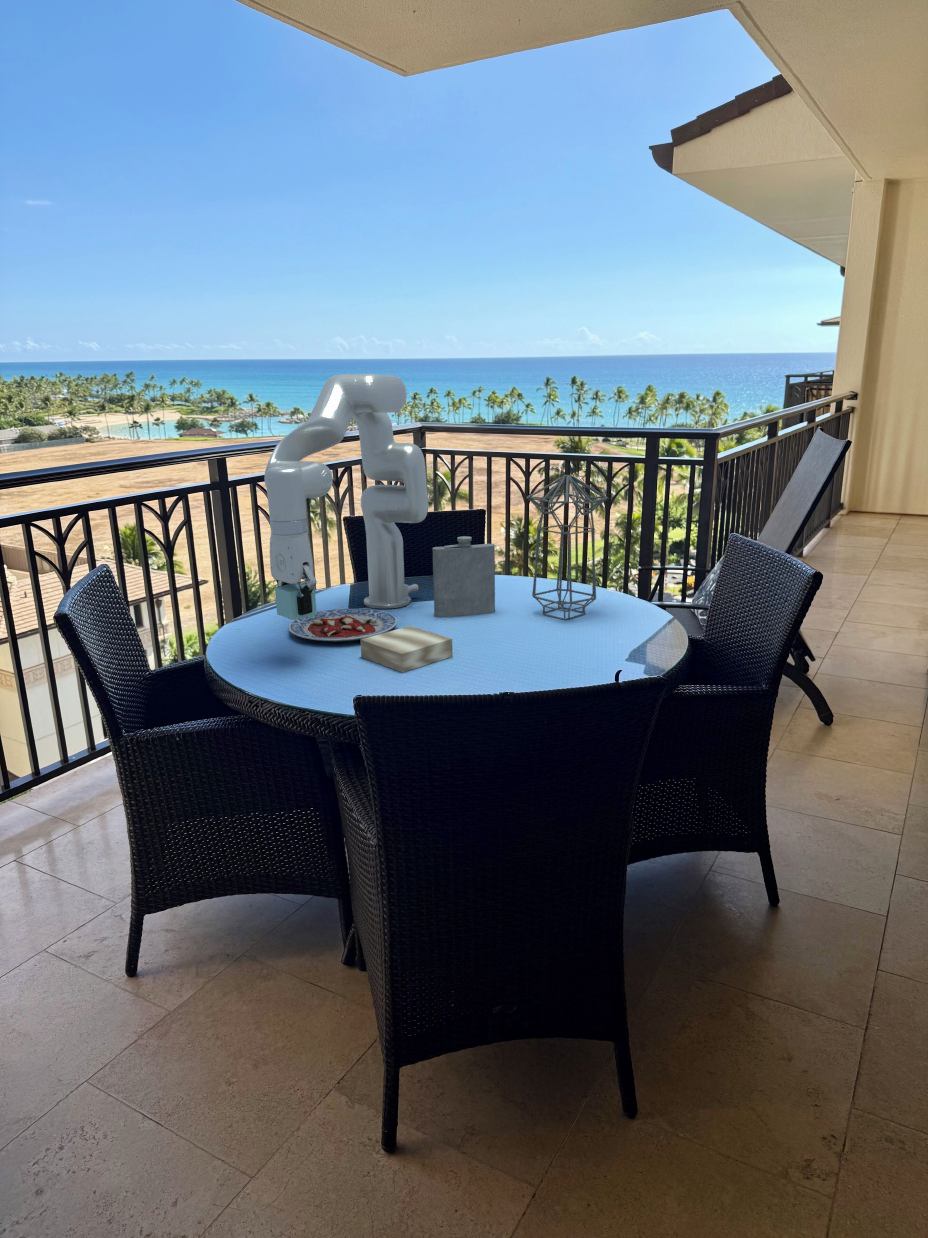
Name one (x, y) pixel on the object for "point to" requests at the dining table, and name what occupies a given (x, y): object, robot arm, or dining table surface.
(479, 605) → the hip flask
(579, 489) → the geometric lantern
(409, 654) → the birch base
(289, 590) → the teal cube
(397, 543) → the robot arm
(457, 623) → the dining table surface
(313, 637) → the ceramic plate
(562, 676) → the dining table surface
